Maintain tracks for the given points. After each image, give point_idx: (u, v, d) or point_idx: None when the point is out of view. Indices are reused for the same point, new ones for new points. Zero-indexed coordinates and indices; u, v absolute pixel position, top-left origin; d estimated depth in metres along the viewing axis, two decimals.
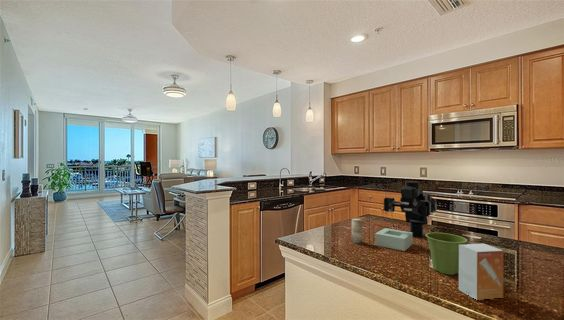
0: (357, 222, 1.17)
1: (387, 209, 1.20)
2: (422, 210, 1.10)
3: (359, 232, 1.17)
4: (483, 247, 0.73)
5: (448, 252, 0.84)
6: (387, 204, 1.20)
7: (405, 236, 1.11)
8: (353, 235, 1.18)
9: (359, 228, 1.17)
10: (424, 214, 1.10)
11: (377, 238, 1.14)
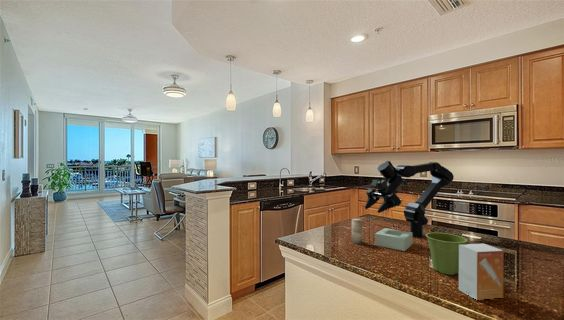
0: (357, 222, 1.17)
1: None
2: (391, 203, 1.16)
3: (359, 232, 1.17)
4: (483, 247, 0.73)
5: (448, 252, 0.84)
6: None
7: (405, 236, 1.11)
8: (353, 235, 1.18)
9: (359, 228, 1.17)
10: (394, 206, 1.16)
11: (377, 238, 1.14)
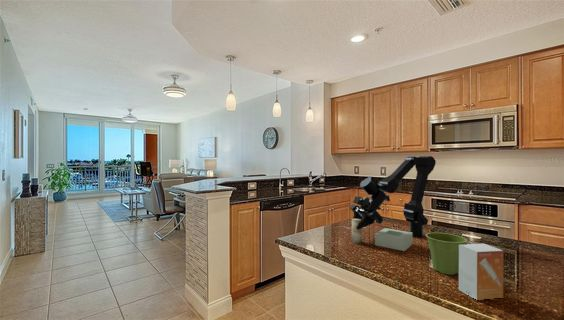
0: (357, 222, 1.17)
1: None
2: (369, 220, 1.16)
3: (359, 232, 1.17)
4: (483, 247, 0.73)
5: (448, 252, 0.84)
6: None
7: (405, 236, 1.11)
8: (353, 235, 1.18)
9: None
10: (373, 222, 1.16)
11: (377, 238, 1.14)
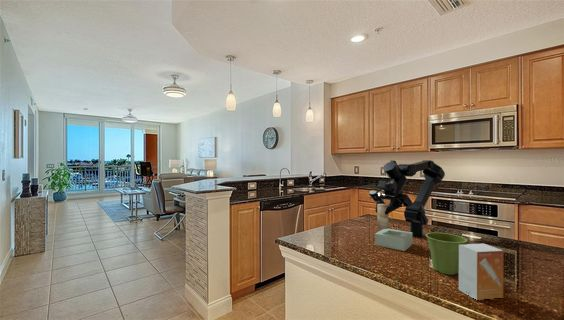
0: (385, 207, 1.14)
1: None
2: (397, 204, 1.14)
3: (387, 217, 1.14)
4: (483, 247, 0.73)
5: (448, 252, 0.84)
6: (377, 199, 1.22)
7: (405, 236, 1.11)
8: (381, 221, 1.14)
9: None
10: (400, 206, 1.14)
11: (377, 238, 1.14)
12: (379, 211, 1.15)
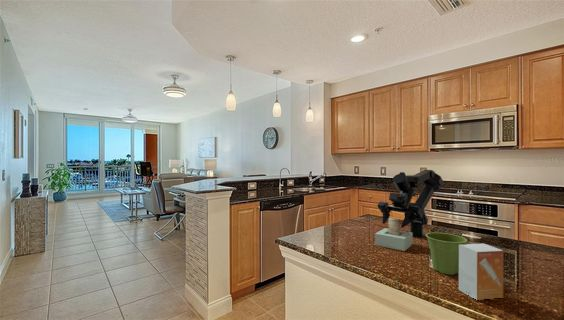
0: (397, 221, 1.14)
1: None
2: (412, 216, 1.13)
3: (398, 231, 1.14)
4: (483, 247, 0.73)
5: (448, 252, 0.84)
6: (382, 210, 1.23)
7: (405, 236, 1.11)
8: None
9: (398, 227, 1.14)
10: (415, 219, 1.13)
11: (377, 238, 1.14)
12: (391, 226, 1.14)
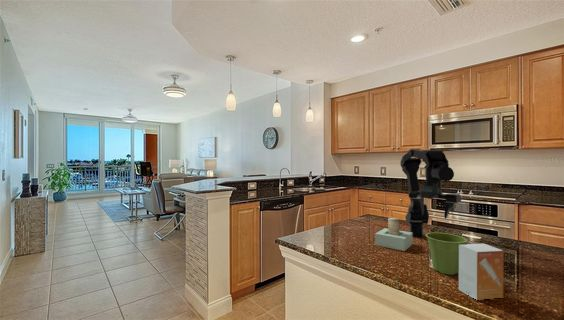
0: (396, 221, 1.14)
1: None
2: None
3: (398, 231, 1.14)
4: (483, 247, 0.73)
5: (448, 252, 0.84)
6: None
7: (405, 236, 1.11)
8: None
9: (398, 227, 1.14)
10: None
11: (377, 238, 1.14)
12: (391, 226, 1.14)
